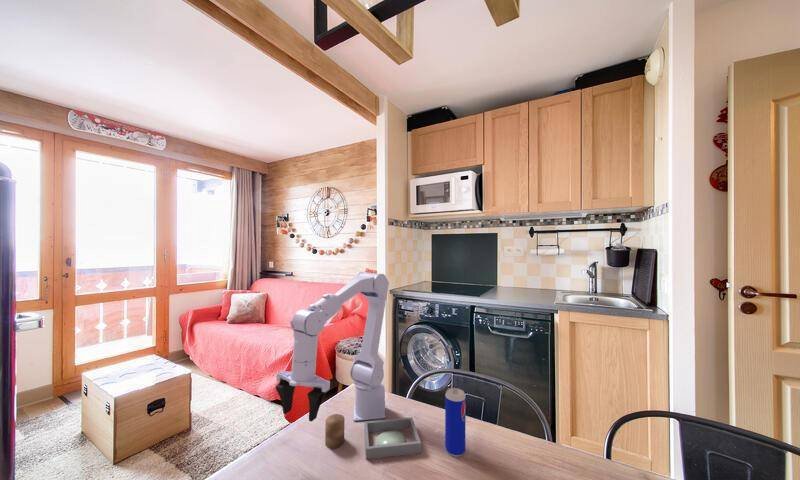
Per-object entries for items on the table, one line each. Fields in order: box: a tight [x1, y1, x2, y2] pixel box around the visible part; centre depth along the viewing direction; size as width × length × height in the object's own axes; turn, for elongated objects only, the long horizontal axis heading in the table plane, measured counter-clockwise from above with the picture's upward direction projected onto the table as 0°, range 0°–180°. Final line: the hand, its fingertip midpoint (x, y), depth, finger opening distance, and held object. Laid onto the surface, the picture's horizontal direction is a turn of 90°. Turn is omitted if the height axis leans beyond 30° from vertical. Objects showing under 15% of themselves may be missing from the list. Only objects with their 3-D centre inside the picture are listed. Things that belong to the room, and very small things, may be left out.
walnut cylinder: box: [324, 413, 345, 450], centre depth 77 cm, size 5×5×6 cm
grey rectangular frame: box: [363, 416, 422, 460], centre depth 77 cm, size 14×11×2 cm
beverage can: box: [444, 387, 467, 458], centre depth 74 cm, size 5×5×15 cm
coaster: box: [376, 430, 406, 446], centre depth 77 cm, size 8×8×1 cm
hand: (299, 415), depth 70 cm, fingers open, 7 cm apart
